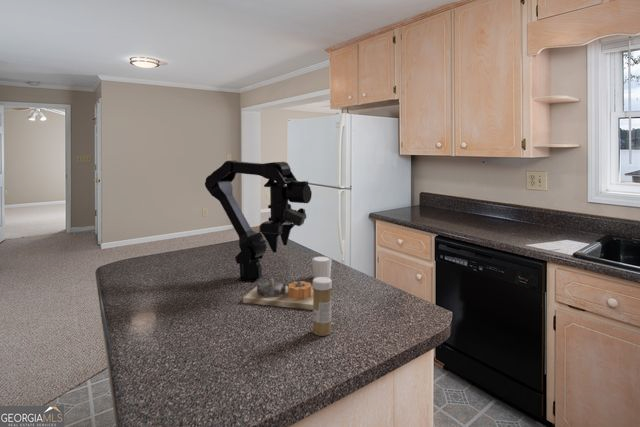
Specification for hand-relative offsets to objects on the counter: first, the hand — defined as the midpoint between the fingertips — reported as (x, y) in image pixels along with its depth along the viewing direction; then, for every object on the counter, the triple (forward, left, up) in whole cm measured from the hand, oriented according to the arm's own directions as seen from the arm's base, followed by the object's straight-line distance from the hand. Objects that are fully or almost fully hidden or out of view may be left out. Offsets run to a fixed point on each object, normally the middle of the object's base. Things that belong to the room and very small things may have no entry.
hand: (280, 248), depth 124 cm
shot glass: (+12, +8, -12) cm, 19 cm away
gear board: (+6, -12, -12) cm, 18 cm away
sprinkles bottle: (+22, -30, -12) cm, 39 cm away
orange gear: (+10, -12, -10) cm, 19 cm away
